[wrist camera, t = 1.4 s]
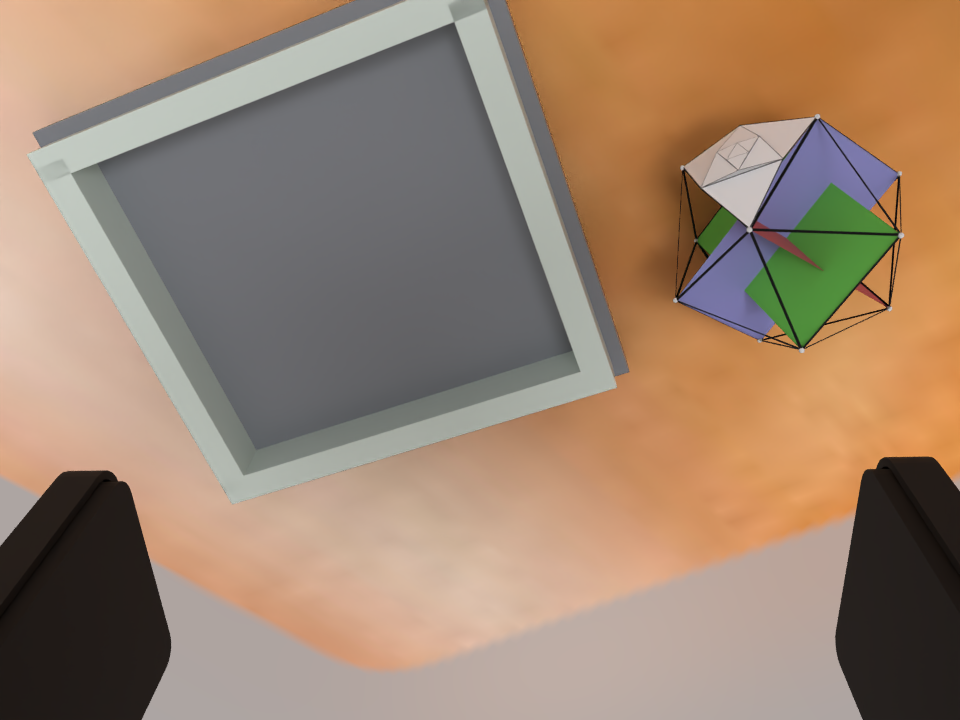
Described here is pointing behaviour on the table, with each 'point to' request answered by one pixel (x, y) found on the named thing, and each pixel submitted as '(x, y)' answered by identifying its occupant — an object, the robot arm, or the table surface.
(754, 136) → the geometric puzzle
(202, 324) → the shallow square tray
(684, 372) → the table surface
